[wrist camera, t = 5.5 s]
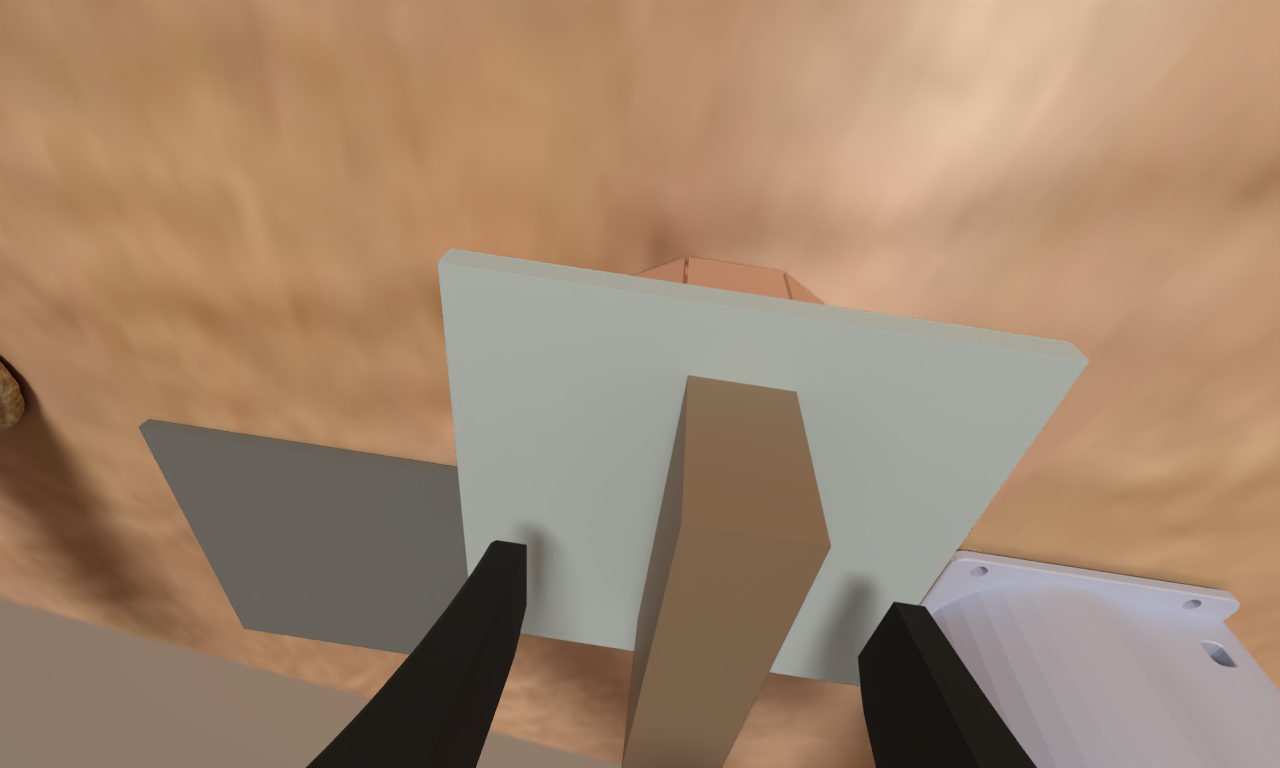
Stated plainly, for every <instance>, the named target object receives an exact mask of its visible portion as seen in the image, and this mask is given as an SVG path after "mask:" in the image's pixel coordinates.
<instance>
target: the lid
mask: <svg viewBox="0 0 1280 768" xmlns="http://www.w3.org/2000/svg"><path fill="white" fill-rule="evenodd" d="M438 270H439V280H440V291H441V301H442V311H443V322H444V332H445V342H446V353H447V363H448V373H449V384H450V394H451V404H452V415H453V425H454V435H455V446H456V456H457V466H458V477H459V487H460V497H461V508H462V518H463V529H464V539H465V549H466V560H467V570H468V578H469V576H470V575H471V573H472V572H473V570H474V569H475V567H476V566H477V564H478V563H479V561H480V559H481V558H482V556H483V555H484V553H485V551H486V550H487V548H488V546H489V545H490V543H491V542H493V541H495V540H500V541H506V542H513V543H519V544H525V545H527V607H526V611H525V615H524V619H523V623H522V627H521V632H520V633H521V634H527V635H534V636H540V637H547V638H553V639H560V640H566V641H572V642H579V643H585V644H592V645H598V646H604V647H611V648H617V649H624V650H630V651H634V658H633V667H632V676H631V686H630V695H629V704H628V714H627V723H626V733H625V742H624V751H623V761H622V768H722V767H723V765H724V763H725V761H726V758H727V756H728V754H729V752H730V750H731V748H732V746H733V744H734V742H735V740H736V738H737V736H738V734H739V732H740V730H741V728H742V726H743V724H744V722H745V720H746V718H747V716H748V714H749V712H750V710H751V708H752V706H753V704H754V702H755V700H756V698H757V696H758V694H759V692H760V690H761V688H762V686H763V684H764V682H765V680H766V678H767V676H768V674H769V672H771V673H777V674H784V675H790V676H797V677H803V678H810V679H816V680H822V681H829V682H835V683H842V684H848V685H854V686H860V676H859V666H858V656H859V654H860V653H861V651H862V649H863V648H864V646H865V645H866V643H867V642H868V640H869V639H870V637H871V636H872V634H873V633H874V631H875V630H876V628H877V626H878V625H879V623H880V622H881V620H882V619H883V617H884V616H885V614H886V613H887V611H888V610H889V608H890V607H891V605H892V604H893V602H901V603H907V604H914V605H919V603H920V602H921V600H922V599H923V598H924V596H925V595H926V593H927V592H928V590H929V589H930V588H931V586H932V585H933V583H934V582H935V580H936V579H937V578H938V576H939V575H940V573H941V572H942V570H943V569H944V568H945V566H946V565H947V563H948V562H949V560H950V559H951V558H952V556H953V555H954V553H955V552H956V550H957V549H958V548H959V546H960V545H961V543H962V542H963V541H964V539H965V538H966V536H967V535H968V533H969V532H970V531H971V529H972V528H973V526H974V525H975V523H976V522H977V521H978V519H979V518H980V516H981V515H982V513H983V512H984V511H985V509H986V508H987V506H988V505H989V503H990V502H991V501H992V499H993V498H994V496H995V495H996V493H997V492H998V491H999V489H1000V488H1001V486H1002V485H1003V483H1004V482H1005V481H1006V479H1007V478H1008V476H1009V475H1010V473H1011V472H1012V471H1013V469H1014V468H1015V466H1016V465H1017V463H1018V462H1019V461H1020V459H1021V458H1022V456H1023V455H1024V454H1025V452H1026V451H1027V449H1028V448H1029V446H1030V445H1031V444H1032V442H1033V441H1034V439H1035V438H1036V436H1037V435H1038V434H1039V432H1040V431H1041V429H1042V428H1043V426H1044V425H1045V424H1046V422H1047V421H1048V419H1049V418H1050V416H1051V415H1052V414H1053V412H1054V411H1055V409H1056V408H1057V406H1058V405H1059V404H1060V402H1061V401H1062V399H1063V398H1064V396H1065V395H1066V394H1067V392H1068V391H1069V389H1070V388H1071V386H1072V385H1073V384H1074V382H1075V381H1076V379H1077V378H1078V376H1079V375H1080V374H1081V372H1082V371H1083V369H1084V368H1085V367H1086V365H1087V364H1088V362H1089V361H1090V360H1089V359H1088V358H1087V357H1086V356H1085V355H1083V354H1082V353H1081V352H1080V351H1079V350H1078V349H1077V348H1076V347H1075V346H1074V345H1073V344H1072V343H1071V342H1067V341H1061V340H1054V339H1048V338H1041V337H1034V336H1028V335H1021V334H1014V333H1008V332H1001V331H995V330H988V329H981V328H975V327H968V326H961V325H955V324H948V323H942V322H935V321H928V320H922V319H915V318H908V317H902V316H895V315H889V314H882V313H875V312H869V311H862V310H855V309H849V308H842V307H836V306H829V305H822V304H816V303H809V302H802V301H796V300H789V299H783V298H776V297H769V296H763V295H756V294H750V293H743V292H736V291H730V290H723V289H716V288H710V287H703V286H697V285H690V284H683V283H677V282H670V281H663V280H657V279H650V278H644V277H637V276H630V275H624V274H617V273H610V272H604V271H597V270H591V269H584V268H577V267H571V266H564V265H557V264H551V263H544V262H538V261H531V260H524V259H518V258H511V257H504V256H498V255H491V254H485V253H478V252H471V251H465V250H458V249H450V250H449V251H448V252H447V253H446V254H445V255H444V256H443V257H442V258H441V259H440V260H439V261H438Z"/></svg>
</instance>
